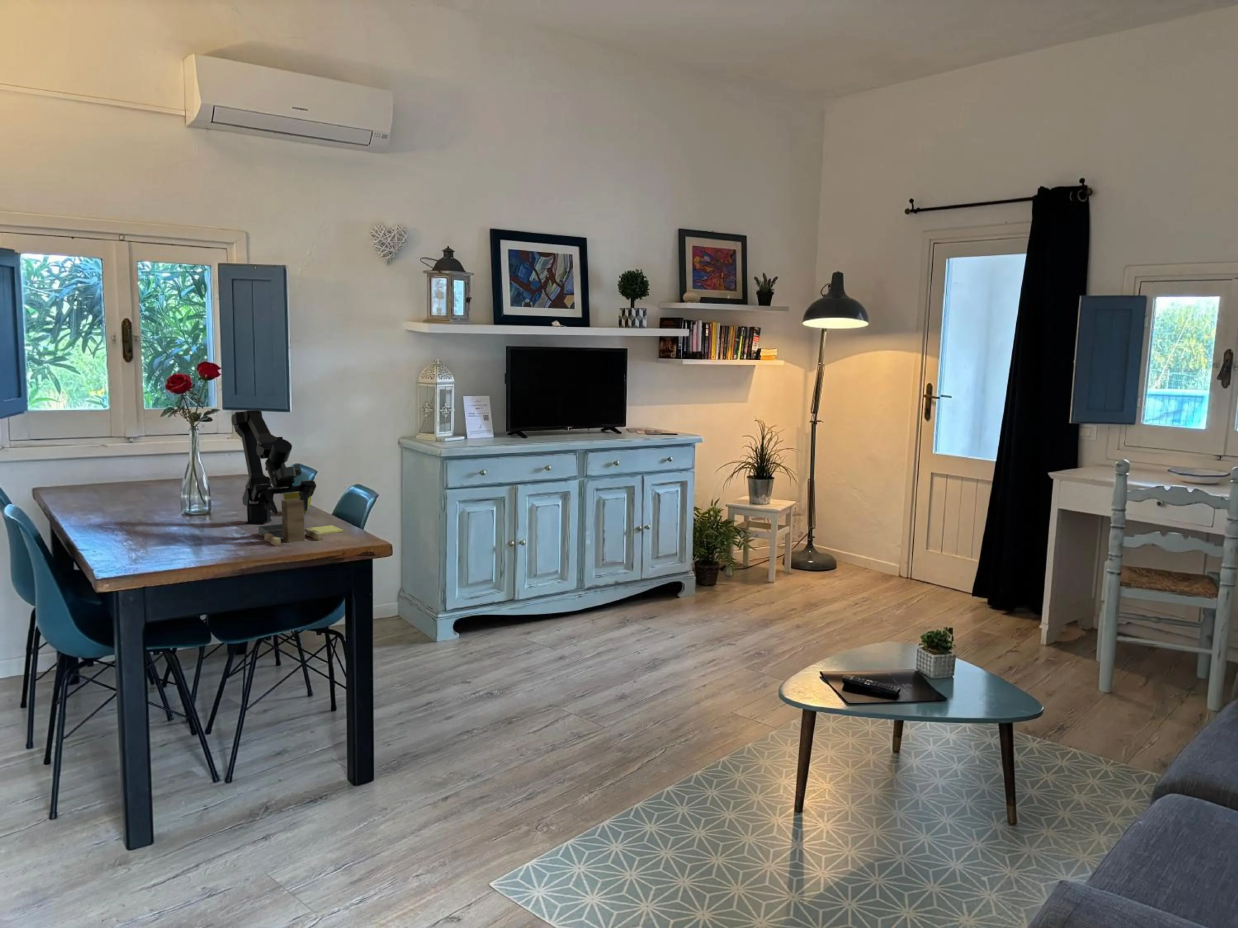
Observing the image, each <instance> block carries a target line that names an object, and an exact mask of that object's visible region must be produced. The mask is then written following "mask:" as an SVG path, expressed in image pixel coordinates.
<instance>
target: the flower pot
mask: <svg viewBox="0 0 1238 928" xmlns="http://www.w3.org/2000/svg"><path fill="white" fill-rule="evenodd" d="M288 499H300V496H299V492H297V493H286V494H283V500H288ZM311 500H312V496H310V497H309V498H308V507H307V511H308V510H309V508H310V506H311V502H312V501H311ZM307 511H305V510H304V514H306V513H307Z"/></svg>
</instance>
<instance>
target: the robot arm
mask: <svg viewBox="0 0 1238 928" xmlns="http://www.w3.org/2000/svg"><path fill="white" fill-rule="evenodd" d="M230 418H231V425H232V426H233V428H234V432H235V433H236V434H237V435H238V436H239V437H240V438H241V442H242V447H243V454H244V458H245V463H246V468H247V474H248V480H247V482H246V484H245V489H244V492H243V495H242V497H241V498H242V499H241V500H242V505H243V506H246V517H247V520H246V521H244V523H245V524H254V525H256V524H257V525H258V524H259V525H263V524H266V523H269V522H271V521H272V518H271V517H272V514H271V512H272V513H273V514H275V515H278V512H279V511H278V508H277V505H276V503H275V501H274V496H275V495H279V494H280V495H284V494H286V493H297V492H299V496H300V500H302V501H303V502H304V510H305V511H308V510H307V507H308V498H309V497H310V496H311V497H312V496H313V495H314V492H315V491H316V488H317V483H316V481H315V480H314V479H308V480H301V481H300V484H299V485H293V484H295V481H296V480H295V478H297V477H299V476H301V475H302V468H301V466H300V465H299V464H294V465H293V466H286V463H287V462H288V460H289V458H290V455H291V451H292V449H293V444H292V443H291V442H290V441H288V440H286V439H284V438H283V436H275V435H273V434H272V433H271V431H270V430H269V427H268V425H267V424H266V421H265V420H264V417H263V413H262V410H259V409H246V410H244V411H243V410H241V411H235V412H234V413H233V414H232V415H231V417H230ZM262 460H265V462H264V466H265V471H266V472H267V474H268V476H266V475H265V474H264V471H263V463H262Z"/></svg>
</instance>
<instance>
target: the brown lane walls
mask: <svg viewBox="0 0 1238 928" xmlns="http://www.w3.org/2000/svg"><path fill="white" fill-rule="evenodd" d="M307 528H308V529H306V530H305V535H306V536H307V537H310V538H311V539H314V540H316V541H323V540H324V538H323V535H324V534H322V533H320V532H318V531H316V530H313V529H311V528H312V527H307ZM263 538H264V541H265V540H266V541H265V542H267V541H268V543H269V542H270V543H269V544H271V545H273V546H275V547H279V546H281V545H282V543H281V542H282V540H281V538H278V537H276V536H274V535H272V534H270V533H266V534H264V537H263Z"/></svg>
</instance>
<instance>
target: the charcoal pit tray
mask: <svg viewBox="0 0 1238 928" xmlns="http://www.w3.org/2000/svg"><path fill="white" fill-rule="evenodd" d="M257 527H258V535H260V534H261V535H262V536H261V535H260V536H261V537H263V536H264V534H266V533H270V534H272V535H274V536H276V537H281V538H283V530H282V523H277V524H274V523H273V524H267V525H259V526H257Z"/></svg>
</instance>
